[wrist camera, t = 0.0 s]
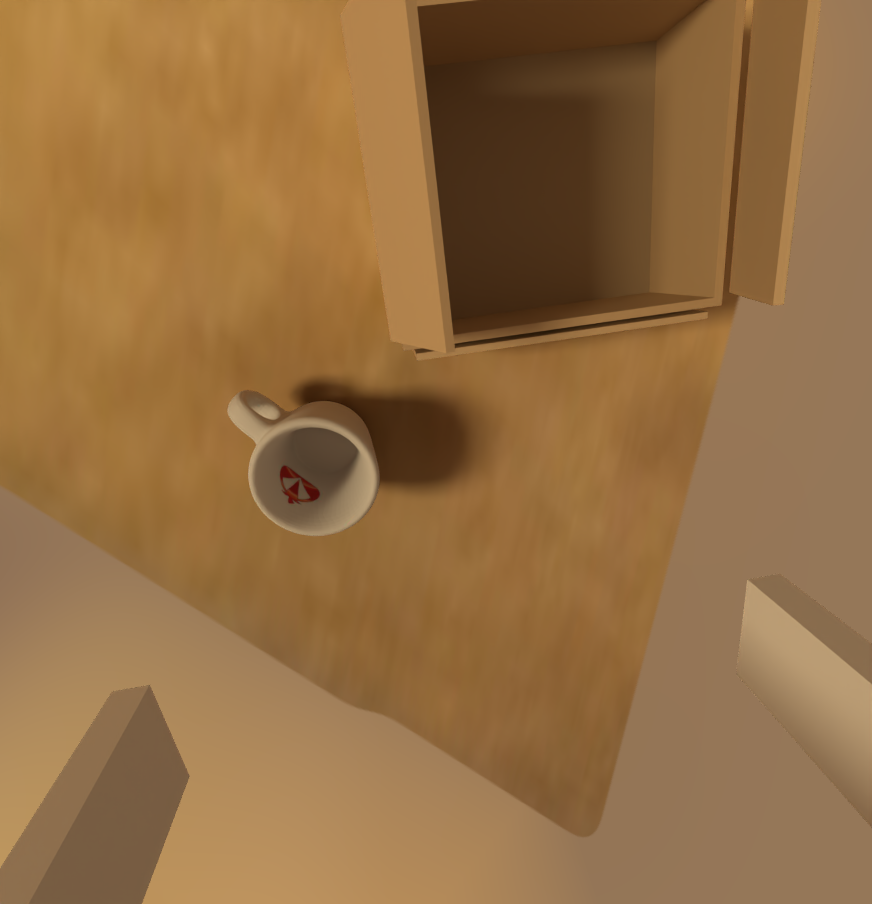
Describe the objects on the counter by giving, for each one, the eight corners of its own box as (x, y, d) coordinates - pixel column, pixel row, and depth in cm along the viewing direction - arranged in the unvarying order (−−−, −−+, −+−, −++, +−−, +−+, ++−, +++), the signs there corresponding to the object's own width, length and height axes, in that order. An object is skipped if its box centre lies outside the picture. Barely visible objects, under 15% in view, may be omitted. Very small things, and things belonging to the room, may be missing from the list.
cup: (219, 422, 36) (178, 461, 29) (284, 339, 35) (259, 358, 28) (336, 505, 40) (326, 559, 32) (400, 433, 38) (405, 472, 31)
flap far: (755, -27, 24) (822, -121, 17) (766, -29, 23) (836, -125, 17) (729, 292, 29) (772, 305, 23) (737, 291, 29) (783, 304, 23)
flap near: (340, 15, 22) (395, -84, 16) (349, 16, 22) (407, -82, 17) (390, 341, 28) (446, 353, 22) (397, 339, 28) (455, 351, 22)
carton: (356, 52, 30) (349, -21, 22) (660, 19, 31) (750, -61, 23) (400, 343, 36) (405, 363, 28) (651, 307, 37) (720, 317, 29)
